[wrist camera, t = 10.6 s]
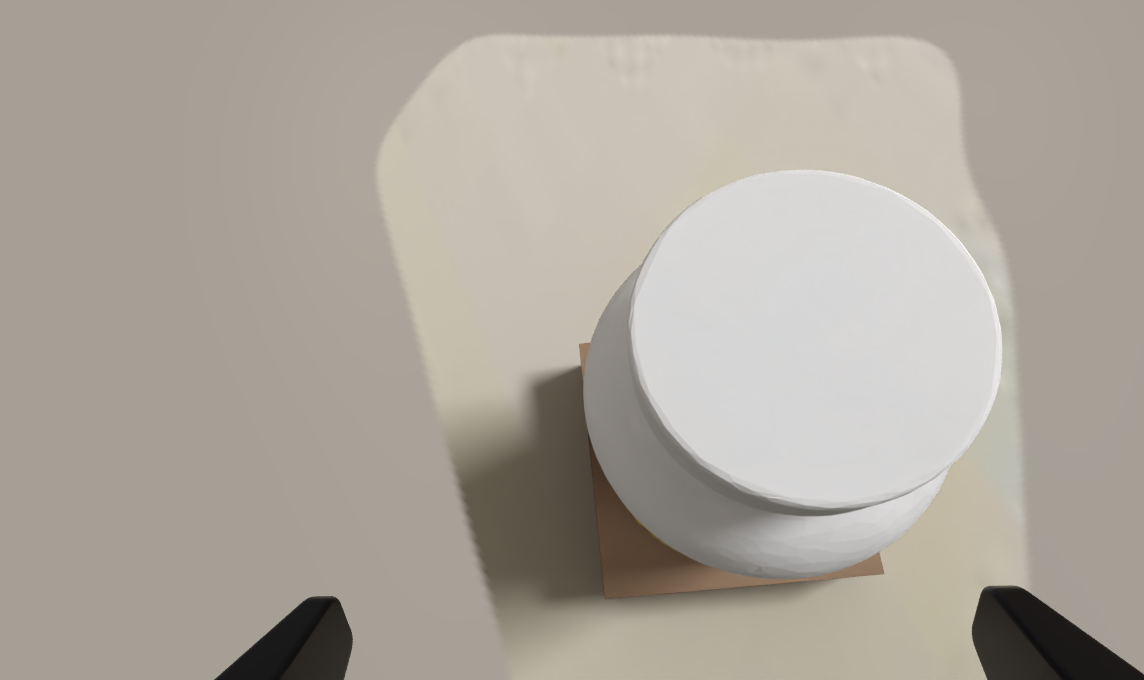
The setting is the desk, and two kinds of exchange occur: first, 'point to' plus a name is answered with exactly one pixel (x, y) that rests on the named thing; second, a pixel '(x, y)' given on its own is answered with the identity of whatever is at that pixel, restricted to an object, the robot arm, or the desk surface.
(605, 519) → the walnut plinth
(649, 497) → the supplement bottle
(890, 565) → the desk surface
